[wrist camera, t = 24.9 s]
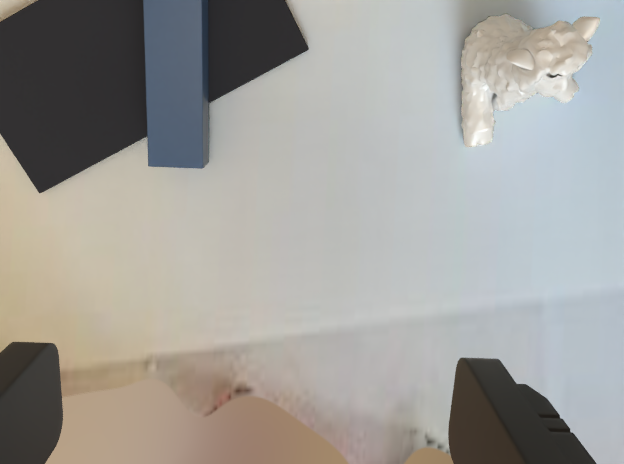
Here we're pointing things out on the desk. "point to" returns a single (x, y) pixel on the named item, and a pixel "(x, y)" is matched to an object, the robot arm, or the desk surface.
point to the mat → (112, 74)
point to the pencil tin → (177, 82)
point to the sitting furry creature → (518, 68)
